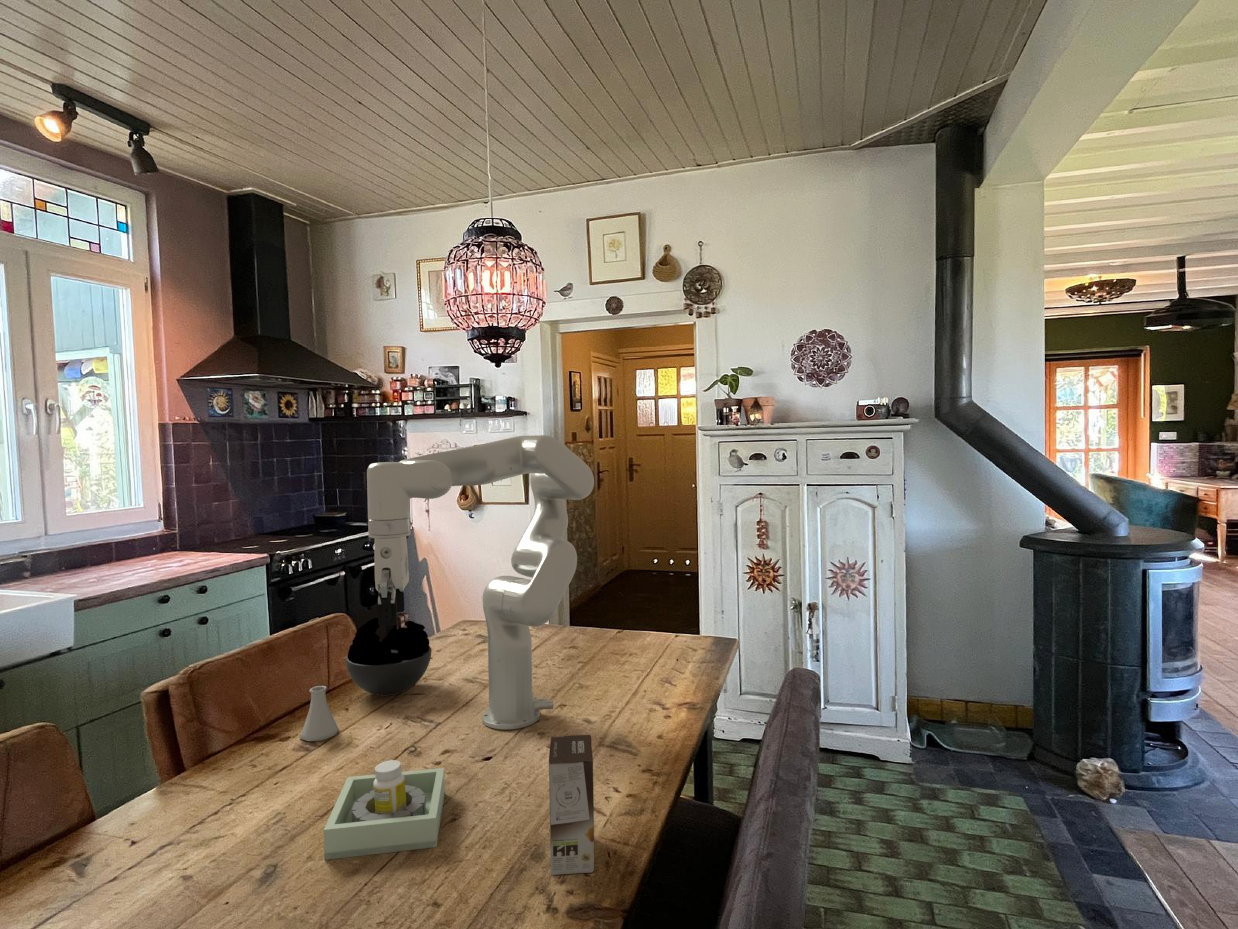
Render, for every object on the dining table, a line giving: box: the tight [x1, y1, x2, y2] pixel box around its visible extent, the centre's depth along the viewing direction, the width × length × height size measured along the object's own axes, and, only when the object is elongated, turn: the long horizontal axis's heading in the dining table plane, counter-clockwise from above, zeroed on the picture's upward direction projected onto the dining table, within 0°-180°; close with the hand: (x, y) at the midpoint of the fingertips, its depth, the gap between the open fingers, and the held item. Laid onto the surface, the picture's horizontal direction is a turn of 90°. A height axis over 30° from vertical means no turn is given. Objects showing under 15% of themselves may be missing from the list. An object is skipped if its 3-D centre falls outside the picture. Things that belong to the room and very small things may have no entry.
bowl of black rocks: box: [345, 617, 432, 697], centre depth 166 cm, size 20×20×19 cm
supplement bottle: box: [373, 759, 407, 815], centre depth 108 cm, size 5×5×8 cm
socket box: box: [323, 767, 446, 861], centre depth 108 cm, size 16×16×4 cm
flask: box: [299, 685, 339, 742], centre depth 142 cm, size 7×7×10 cm
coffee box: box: [548, 734, 595, 876], centre depth 99 cm, size 9×6×16 cm
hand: (391, 618), depth 127 cm, fingers open, 9 cm apart
